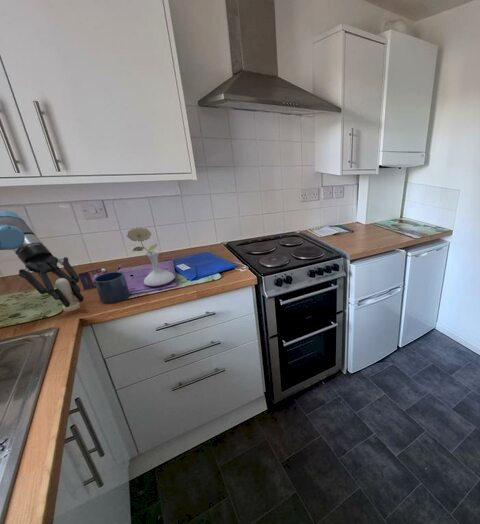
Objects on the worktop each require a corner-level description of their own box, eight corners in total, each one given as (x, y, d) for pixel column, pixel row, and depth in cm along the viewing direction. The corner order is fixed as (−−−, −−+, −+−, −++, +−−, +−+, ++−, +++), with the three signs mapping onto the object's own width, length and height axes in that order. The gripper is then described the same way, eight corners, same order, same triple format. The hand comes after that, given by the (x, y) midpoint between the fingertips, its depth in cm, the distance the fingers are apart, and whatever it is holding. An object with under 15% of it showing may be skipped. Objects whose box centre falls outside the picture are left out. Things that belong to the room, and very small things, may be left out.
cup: (95, 303, 112) (87, 282, 109) (111, 292, 121) (104, 272, 117) (120, 303, 113) (113, 281, 109) (134, 291, 121) (128, 271, 118)
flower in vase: (178, 275, 135) (165, 222, 125) (170, 287, 125) (155, 229, 115) (146, 278, 132) (130, 223, 122) (135, 290, 122) (117, 231, 112)
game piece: (59, 311, 104) (47, 281, 99) (70, 304, 108) (58, 275, 104) (73, 311, 104) (61, 281, 100) (83, 304, 108) (72, 275, 104)
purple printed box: (78, 273, 121) (105, 267, 127) (77, 274, 124) (104, 267, 130) (84, 289, 122) (111, 282, 128) (83, 289, 125) (110, 282, 131)
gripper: (58, 249, 112) (99, 297, 113) (-3, 264, 98) (43, 319, 99) (61, 237, 108) (103, 287, 109) (-2, 252, 94) (46, 309, 95)
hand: (75, 302), depth 104 cm, fingers closed on game piece, 3 cm apart
